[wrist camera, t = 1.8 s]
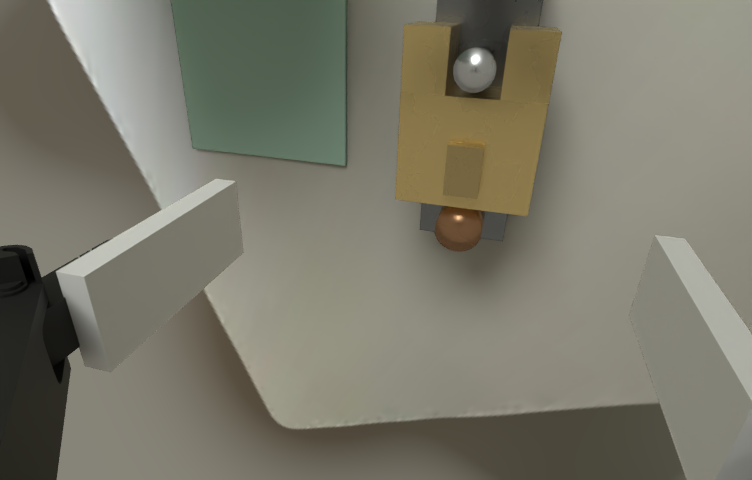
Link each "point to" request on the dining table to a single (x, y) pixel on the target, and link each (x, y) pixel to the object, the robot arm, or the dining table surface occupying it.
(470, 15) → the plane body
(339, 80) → the mat
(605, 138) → the dining table surface
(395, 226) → the dining table surface
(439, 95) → the lever cap
